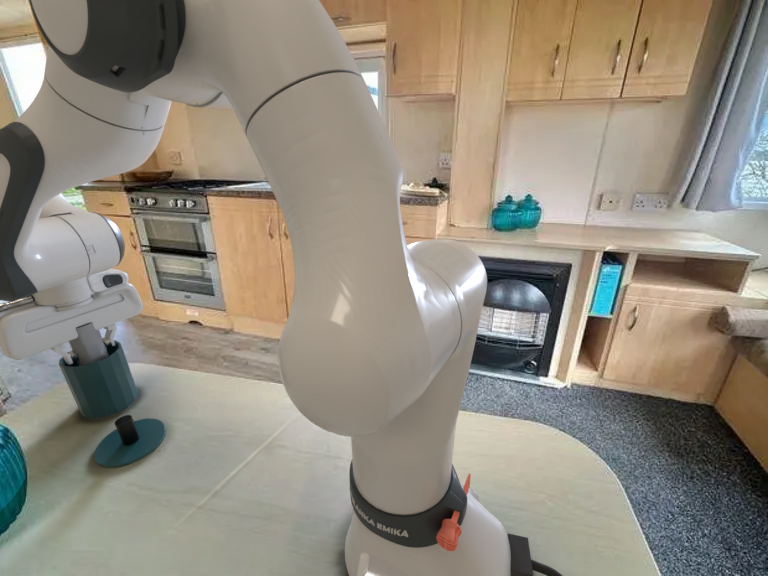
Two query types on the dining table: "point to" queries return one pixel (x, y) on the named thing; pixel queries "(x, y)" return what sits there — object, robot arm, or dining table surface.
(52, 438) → the dining table surface
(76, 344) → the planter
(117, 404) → the pot
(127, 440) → the lid
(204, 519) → the dining table surface
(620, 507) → the dining table surface
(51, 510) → the dining table surface
